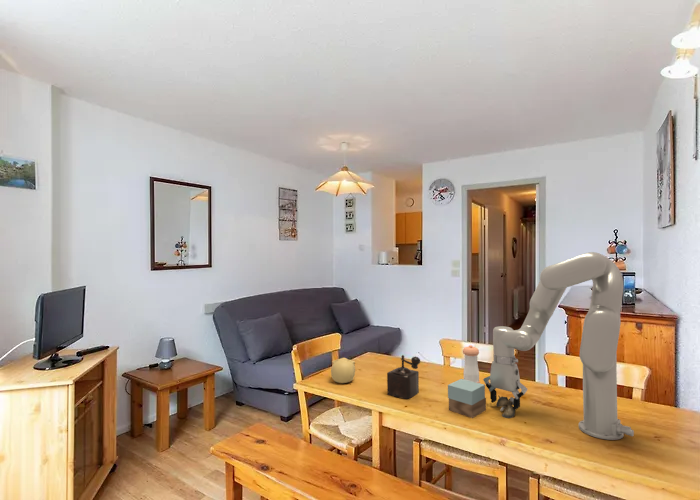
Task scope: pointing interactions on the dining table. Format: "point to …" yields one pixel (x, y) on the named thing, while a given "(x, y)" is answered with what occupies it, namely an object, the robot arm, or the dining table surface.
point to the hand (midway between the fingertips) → (504, 404)
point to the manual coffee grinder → (404, 380)
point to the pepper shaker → (471, 364)
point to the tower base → (467, 407)
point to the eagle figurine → (506, 406)
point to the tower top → (466, 391)
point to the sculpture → (343, 370)
